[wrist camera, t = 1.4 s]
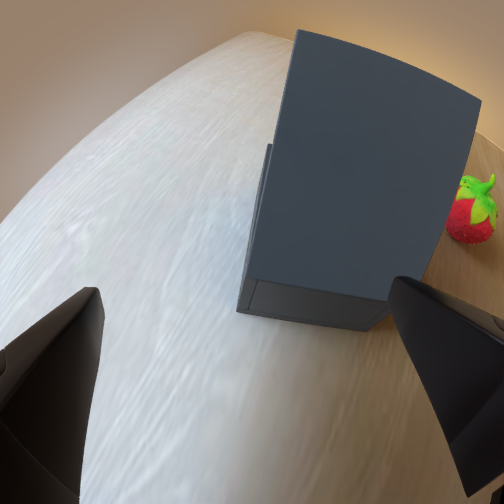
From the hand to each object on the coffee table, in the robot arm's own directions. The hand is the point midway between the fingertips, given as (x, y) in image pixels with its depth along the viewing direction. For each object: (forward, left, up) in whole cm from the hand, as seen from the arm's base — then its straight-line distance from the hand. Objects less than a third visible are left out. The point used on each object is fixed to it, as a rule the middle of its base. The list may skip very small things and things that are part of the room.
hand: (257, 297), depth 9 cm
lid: (+2, -10, -2) cm, 10 cm away
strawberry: (-3, -28, -14) cm, 32 cm away
